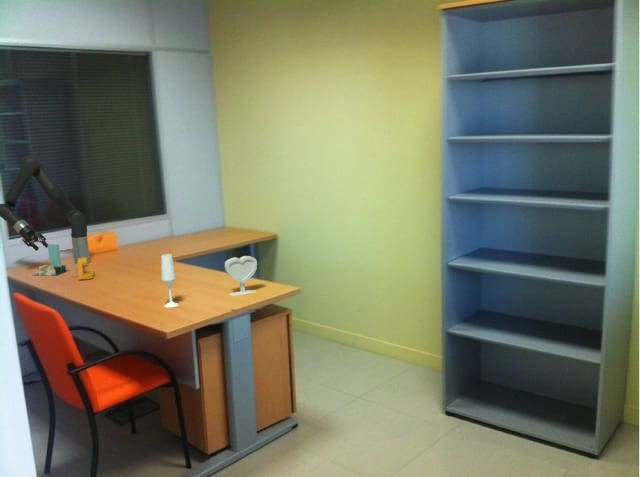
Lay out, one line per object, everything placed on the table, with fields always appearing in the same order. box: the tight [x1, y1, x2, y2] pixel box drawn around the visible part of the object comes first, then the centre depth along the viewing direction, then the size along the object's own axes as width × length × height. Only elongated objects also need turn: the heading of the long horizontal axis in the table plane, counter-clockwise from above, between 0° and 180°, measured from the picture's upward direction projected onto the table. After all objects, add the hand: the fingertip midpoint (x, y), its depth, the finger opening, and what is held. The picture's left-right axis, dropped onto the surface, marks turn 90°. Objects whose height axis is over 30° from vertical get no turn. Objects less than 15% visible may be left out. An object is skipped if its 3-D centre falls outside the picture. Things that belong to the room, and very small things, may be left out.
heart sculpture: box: [224, 255, 258, 297], centre depth 302 cm, size 16×5×18 cm, turn 117°
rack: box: [31, 264, 71, 277], centre depth 360 cm, size 16×14×4 cm
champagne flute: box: [160, 253, 180, 308], centre depth 285 cm, size 7×7×24 cm
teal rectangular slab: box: [47, 243, 62, 267], centre depth 363 cm, size 6×2×16 cm, turn 76°
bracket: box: [77, 257, 96, 281], centre depth 348 cm, size 11×7×12 cm, turn 13°
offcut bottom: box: [38, 270, 56, 275], centre depth 357 cm, size 8×4×2 cm, turn 76°
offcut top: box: [38, 264, 54, 271], centre depth 356 cm, size 7×4×2 cm, turn 80°
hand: (42, 248), depth 364 cm, fingers open, 8 cm apart
